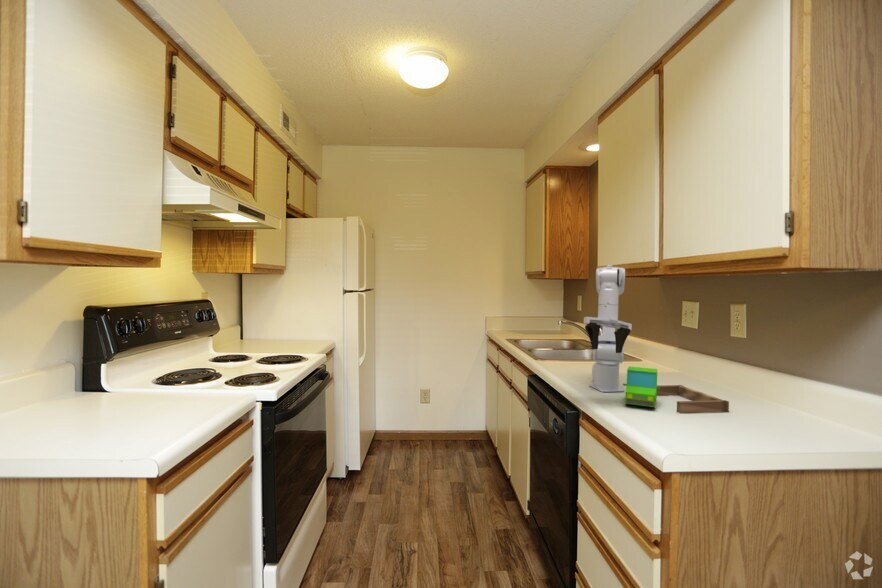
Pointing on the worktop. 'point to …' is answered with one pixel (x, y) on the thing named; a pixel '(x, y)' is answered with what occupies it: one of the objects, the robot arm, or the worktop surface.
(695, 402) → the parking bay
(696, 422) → the worktop surface
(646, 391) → the toy car
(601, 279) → the robot arm
